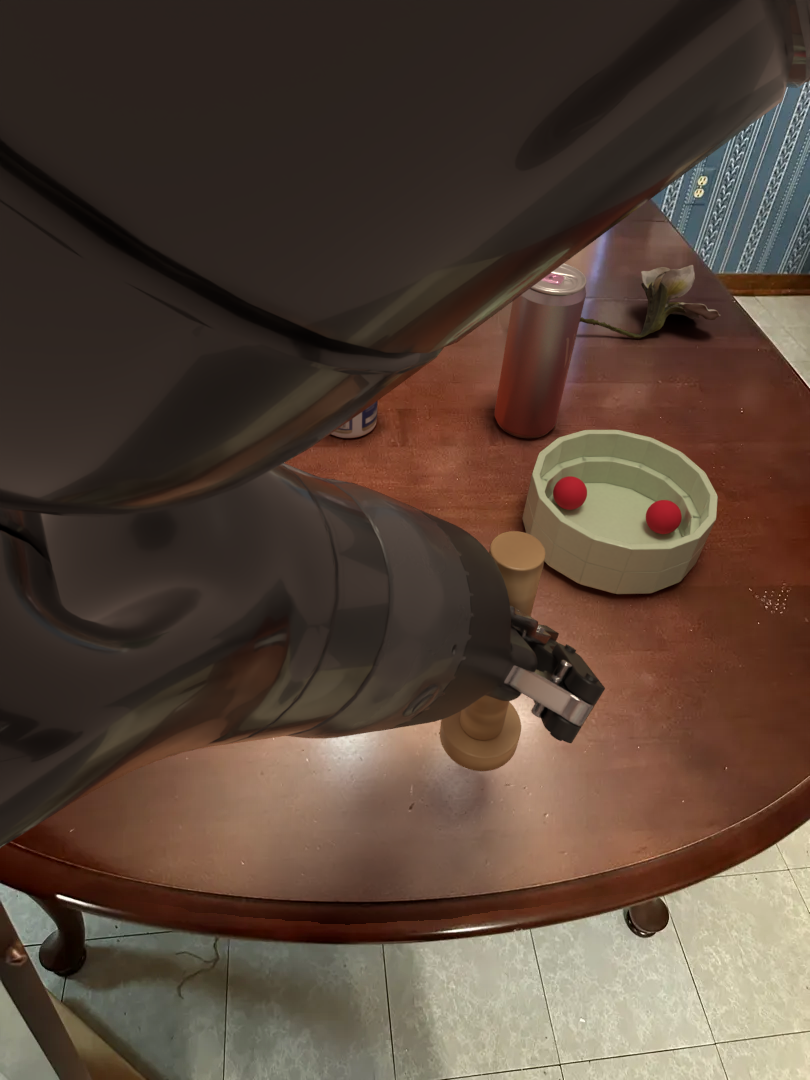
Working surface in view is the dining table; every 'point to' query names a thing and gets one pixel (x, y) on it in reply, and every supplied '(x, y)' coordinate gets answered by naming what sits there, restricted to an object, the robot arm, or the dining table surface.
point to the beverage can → (539, 353)
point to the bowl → (619, 511)
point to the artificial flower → (664, 299)
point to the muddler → (489, 723)
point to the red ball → (570, 493)
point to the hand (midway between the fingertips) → (518, 631)
